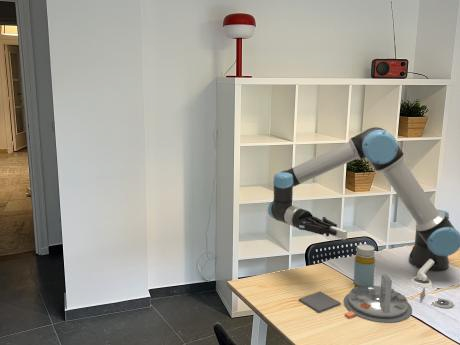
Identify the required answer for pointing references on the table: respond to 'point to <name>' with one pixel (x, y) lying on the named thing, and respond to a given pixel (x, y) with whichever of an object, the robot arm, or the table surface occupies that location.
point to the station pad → (319, 302)
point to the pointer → (350, 315)
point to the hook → (423, 275)
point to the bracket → (438, 303)
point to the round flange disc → (378, 300)
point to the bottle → (364, 265)
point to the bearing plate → (391, 320)
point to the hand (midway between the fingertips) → (345, 235)
